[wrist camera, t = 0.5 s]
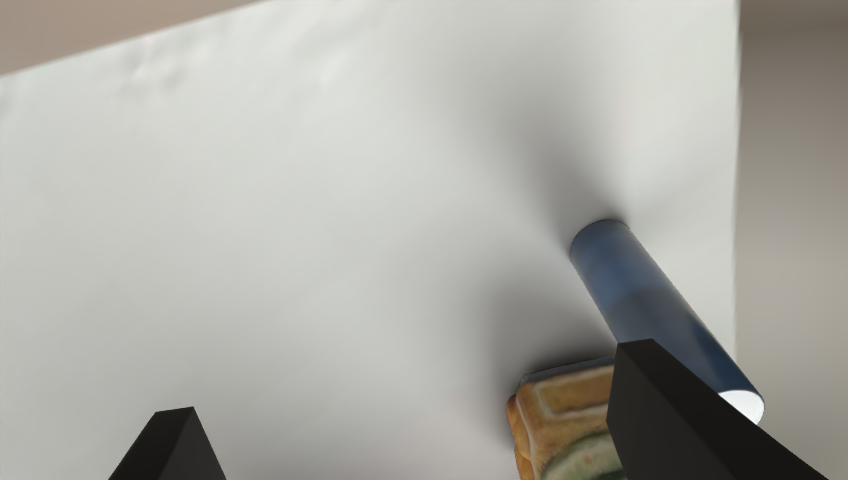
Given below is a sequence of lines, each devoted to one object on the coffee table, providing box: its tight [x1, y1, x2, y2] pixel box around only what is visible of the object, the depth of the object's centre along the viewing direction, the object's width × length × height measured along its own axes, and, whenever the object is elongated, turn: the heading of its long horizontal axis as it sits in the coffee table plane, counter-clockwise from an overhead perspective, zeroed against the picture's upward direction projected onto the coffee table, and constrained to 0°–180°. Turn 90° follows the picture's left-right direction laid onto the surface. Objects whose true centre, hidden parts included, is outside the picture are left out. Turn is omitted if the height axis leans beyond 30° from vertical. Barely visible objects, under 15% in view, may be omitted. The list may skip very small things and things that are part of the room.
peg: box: [570, 220, 765, 425], centre depth 18 cm, size 2×2×8 cm
